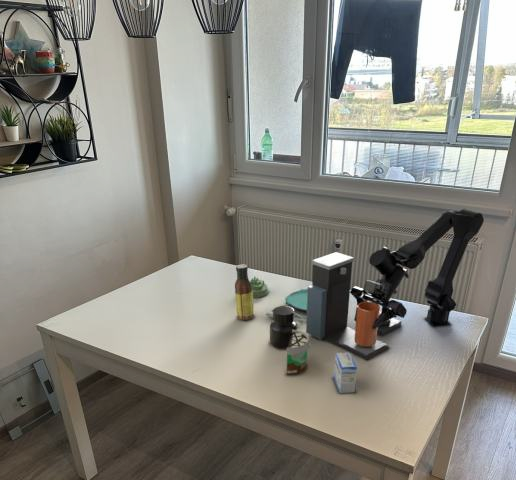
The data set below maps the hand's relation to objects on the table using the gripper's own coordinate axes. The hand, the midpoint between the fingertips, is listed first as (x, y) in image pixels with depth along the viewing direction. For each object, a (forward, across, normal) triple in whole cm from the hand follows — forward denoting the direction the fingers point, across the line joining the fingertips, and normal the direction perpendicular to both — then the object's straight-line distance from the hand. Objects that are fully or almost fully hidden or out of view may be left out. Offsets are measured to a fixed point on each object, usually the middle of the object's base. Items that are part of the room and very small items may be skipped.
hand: (364, 324), depth 153 cm
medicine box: (+20, +10, -8) cm, 24 cm away
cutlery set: (+1, -34, +12) cm, 36 cm away
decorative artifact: (+4, -58, +9) cm, 59 cm away
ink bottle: (+18, -20, -5) cm, 27 cm away
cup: (+4, 0, +6) cm, 7 cm away
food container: (+23, -6, -10) cm, 25 cm away
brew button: (-8, -6, +16) cm, 19 cm away
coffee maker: (+6, -7, +6) cm, 11 cm away
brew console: (-6, -6, +19) cm, 20 cm away
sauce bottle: (+16, -44, -3) cm, 46 cm away
